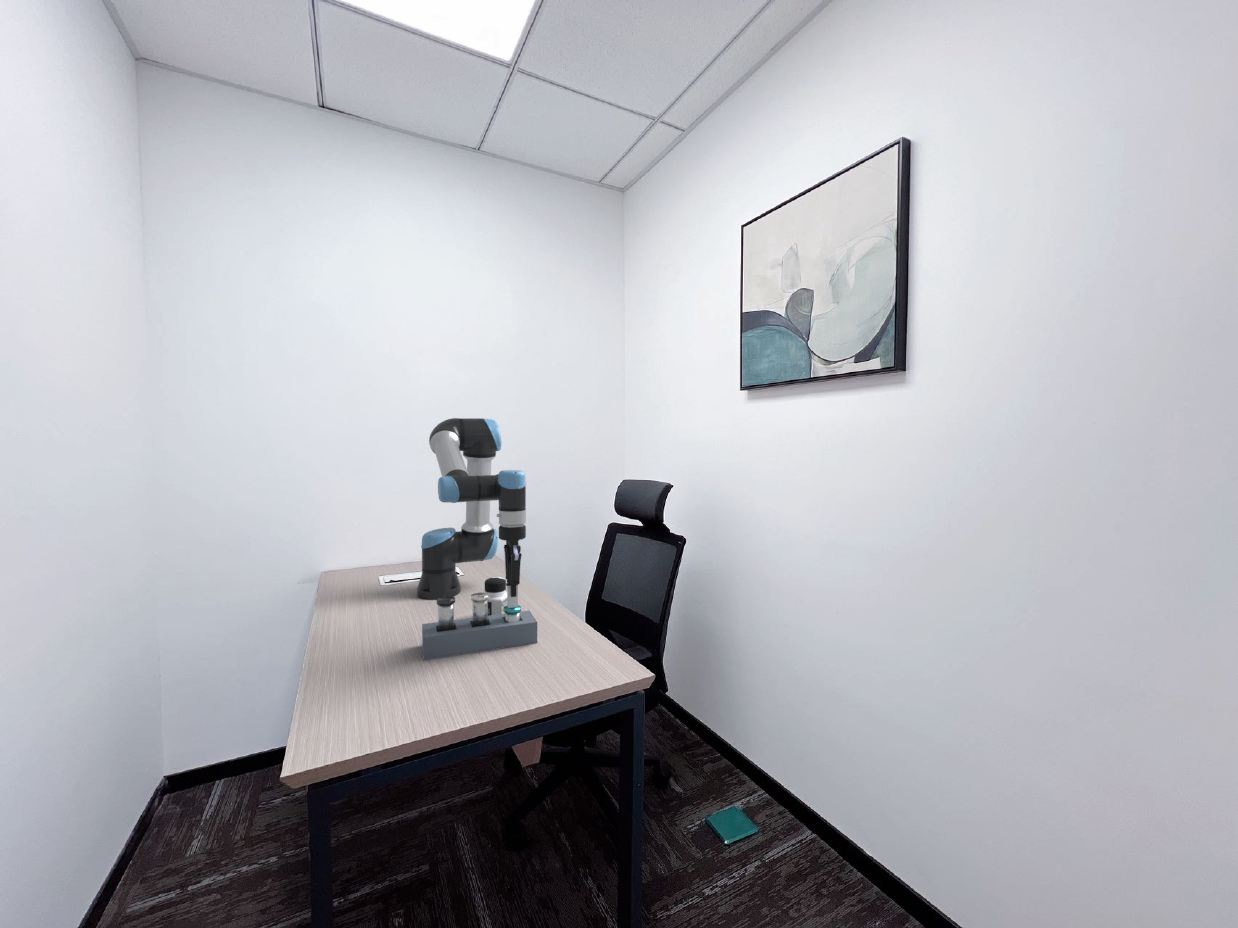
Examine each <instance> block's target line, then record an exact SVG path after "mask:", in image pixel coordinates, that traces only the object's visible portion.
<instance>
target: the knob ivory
mask: <svg viewBox="0 0 1238 928" xmlns="http://www.w3.org/2000/svg"><path fill="white" fill-rule="evenodd" d="M488 599H489V594H488V593H485V592H475V593H473V594H471V596H470V600H471V601H472V618H473V626H474V627H479V626H486V625H488V602H487V600H488Z"/></svg>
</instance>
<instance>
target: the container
mask: <svg viewBox="0 0 1238 928" xmlns="http://www.w3.org/2000/svg"><path fill="white" fill-rule="evenodd" d="M506 583H507V579H506V578H503V577H502V576H501V577H500V576H493V577H488V578H487V579H485V580H484V593H488V594H489V599H488V600H487V602H488V616H490V615H497V614H505V612H504V607H505V606H507V586H506Z"/></svg>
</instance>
